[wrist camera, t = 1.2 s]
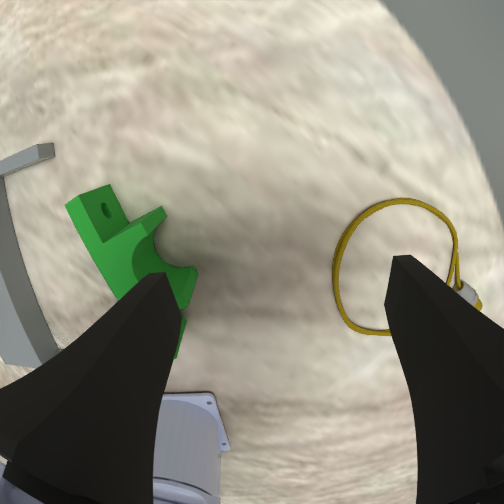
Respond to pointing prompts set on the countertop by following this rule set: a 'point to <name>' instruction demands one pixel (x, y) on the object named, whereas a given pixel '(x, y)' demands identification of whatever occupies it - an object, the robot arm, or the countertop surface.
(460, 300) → the robot arm
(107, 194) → the pipe clamp
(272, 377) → the countertop surface
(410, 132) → the countertop surface
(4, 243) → the pegged forked bracket
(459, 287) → the extension cord
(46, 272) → the countertop surface
